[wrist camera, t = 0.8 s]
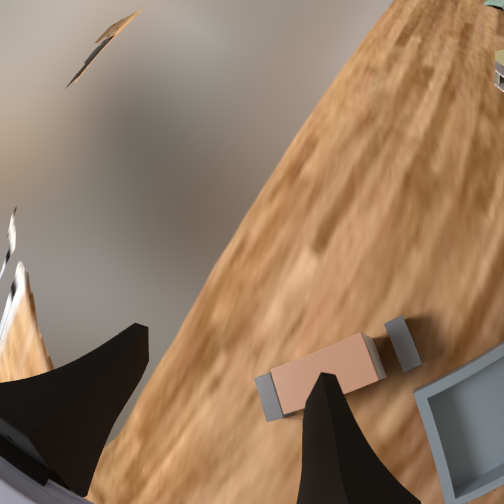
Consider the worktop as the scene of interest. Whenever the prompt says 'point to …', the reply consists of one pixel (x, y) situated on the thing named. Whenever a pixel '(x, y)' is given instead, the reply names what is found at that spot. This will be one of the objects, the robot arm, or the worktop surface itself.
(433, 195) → the worktop surface
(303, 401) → the pink and gray block
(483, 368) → the tray
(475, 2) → the worktop surface
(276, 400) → the grey blocks
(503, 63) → the beige layered stack
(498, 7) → the pale green flat pieces
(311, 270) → the worktop surface
